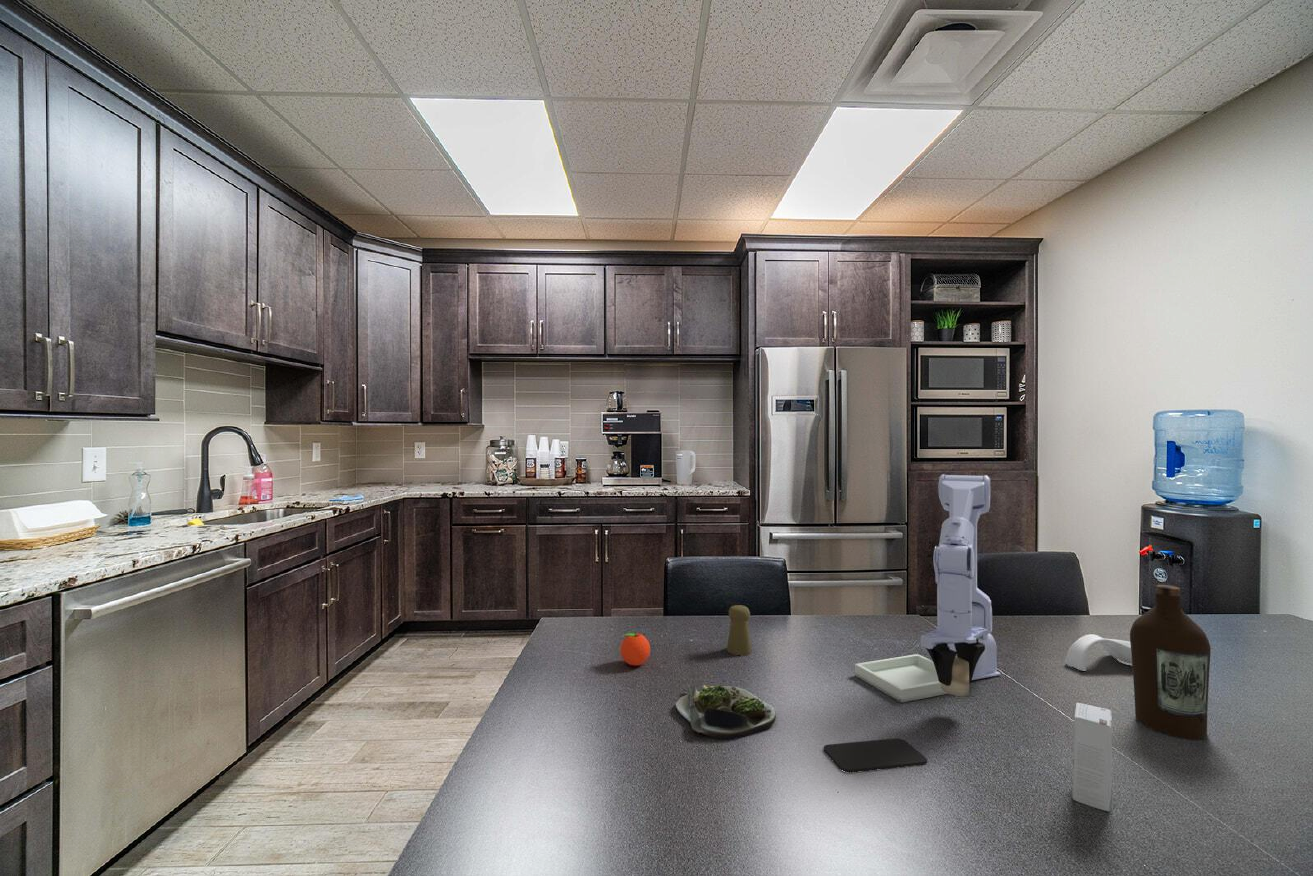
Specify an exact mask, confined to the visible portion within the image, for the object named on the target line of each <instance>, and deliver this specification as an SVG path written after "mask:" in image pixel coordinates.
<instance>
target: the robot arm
mask: <svg viewBox="0 0 1313 876" xmlns="http://www.w3.org/2000/svg"><path fill="white" fill-rule="evenodd" d="M937 490H938V497H939V498H938V499H939V500H940V503H941V507H942V508H943V510H944V511H947V512H949V513H948V514H949V515H948V516H949V517H948V518H946V519H945V520H944V521H943V522H942V524H941V529H940V536H939V543H938V546H937V545H935V546H934V550H933V568H934V575H935V580H934V581H935V584H937V588H936V593H937V594H936V596H937V598H936V602H937V628H935V629H934V630H932V631H930V632H928V633H926V634H921V635H920V646H921V647H923V648H925V649H926V650H927V652H928V654H929V656H930V658H931V660H932V661H933V663H934V666H935V669H936V672H937V676H938V680H939V682H940V683H942V684H944V685H946V686H950V685H951V681H952V667H953V663H954V659H955V657H958V658H962V659H964V660H966V661H968V662H969V683H971V682H972V681H975V680H981V679H985V678H991V677H997V676H1000V675H1001V672H999V671H998V670H997V669H998V668H997V660H998V659H997V644H996V640H995V638H994V637H993V635H992V631H993V608H992V600H991V599H990V596H988V595H987V594H986V593H985V592H983V591H982V590H981V589H979V588H978V522H979V519H980V516H981V515H983V514H986V513H989V511H990V509H991V492H992V491H991V477H989V476H988V475H986V474H984V475H962V474H961V475H960V474H959V475H958V474H949V475H948V474H944V473H943V474H940V476H939V479H938V489H937Z"/></svg>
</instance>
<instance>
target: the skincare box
mask: <svg viewBox="0 0 1313 876" xmlns="http://www.w3.org/2000/svg"><path fill="white" fill-rule="evenodd" d="M1112 719H1113V717H1112V710H1111V709H1107V708H1104V707H1099V706H1096V705H1092V704H1091V705H1090V704H1086V703H1080V702H1075V710H1074V725H1073V726H1074V727H1073V728H1074V729H1073V742H1072V743H1073V744H1072V745H1073V751H1072V752H1073V753H1072V755H1073V756H1072V790H1071V791H1072V794H1071V795H1072V796H1071V798H1072V800H1073V801H1076V802H1078V803H1081V804H1083V805H1086V806H1088V807H1091V808H1094V809H1098V810H1100V811H1101V810H1102V811H1104V812H1110V810H1111V798H1112V755H1113V754H1112V745H1113V744H1112V743H1113V742H1112V740H1113V739H1112V738H1113V737H1112V736H1113V735H1112V731H1113V730H1112V726H1113V725H1112V724H1113V723H1112Z"/></svg>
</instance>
